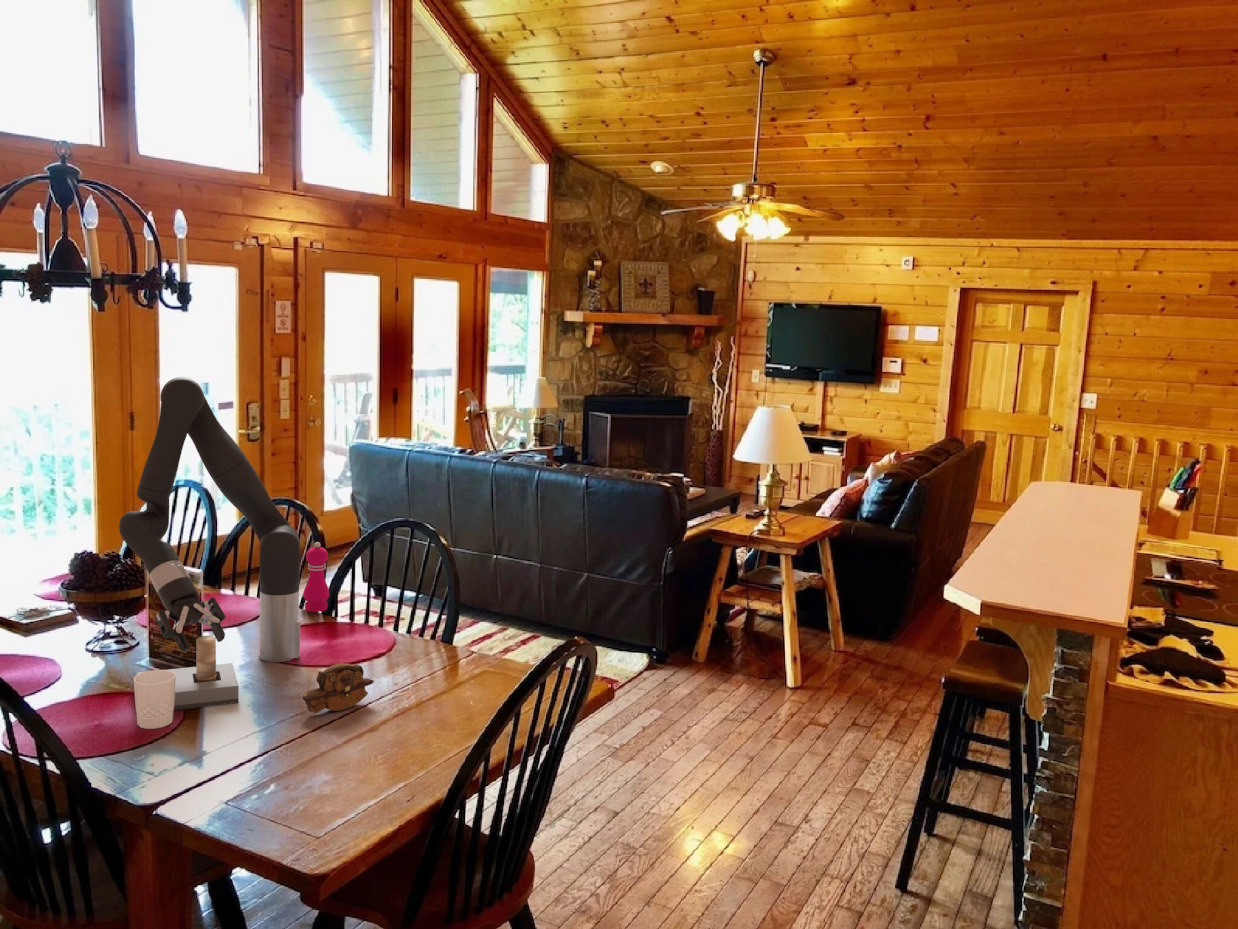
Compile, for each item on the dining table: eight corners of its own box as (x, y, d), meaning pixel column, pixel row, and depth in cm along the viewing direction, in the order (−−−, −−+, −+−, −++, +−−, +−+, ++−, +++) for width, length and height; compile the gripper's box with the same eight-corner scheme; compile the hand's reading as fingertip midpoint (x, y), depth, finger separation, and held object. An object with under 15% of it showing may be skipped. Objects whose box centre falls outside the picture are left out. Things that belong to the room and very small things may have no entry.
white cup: (184, 719, 203) (184, 674, 201) (155, 733, 196) (155, 687, 194) (155, 711, 205) (154, 667, 204) (125, 725, 198) (124, 680, 196)
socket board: (232, 679, 225) (232, 663, 224) (238, 702, 213) (238, 685, 212) (136, 689, 216) (136, 672, 215) (137, 714, 203) (137, 696, 203)
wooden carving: (312, 723, 205) (313, 678, 204) (300, 716, 208) (301, 672, 207) (376, 702, 218) (377, 660, 216) (364, 696, 221) (365, 655, 219)
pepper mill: (333, 606, 282) (334, 540, 278) (323, 613, 274) (324, 546, 271) (309, 604, 282) (310, 538, 279) (298, 611, 275) (299, 543, 272)
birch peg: (215, 685, 219) (215, 634, 217) (217, 692, 215) (217, 641, 213) (195, 687, 217) (195, 636, 215) (196, 694, 213) (196, 643, 211)
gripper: (150, 582, 211) (182, 644, 207) (208, 570, 223) (240, 628, 219) (137, 600, 215) (168, 662, 211) (195, 587, 227) (225, 645, 222)
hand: (204, 644), depth 215 cm, fingers open, 8 cm apart
